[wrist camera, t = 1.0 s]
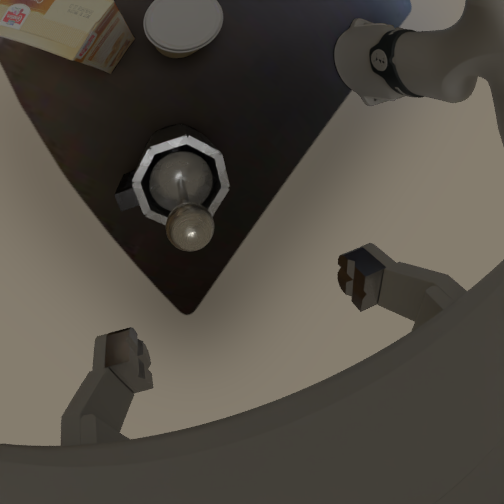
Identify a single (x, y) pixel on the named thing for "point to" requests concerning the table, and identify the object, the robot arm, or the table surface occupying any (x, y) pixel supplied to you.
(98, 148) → the table surface
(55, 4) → the coffeecake box
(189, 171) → the plunger
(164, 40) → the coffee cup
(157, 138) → the press pot
